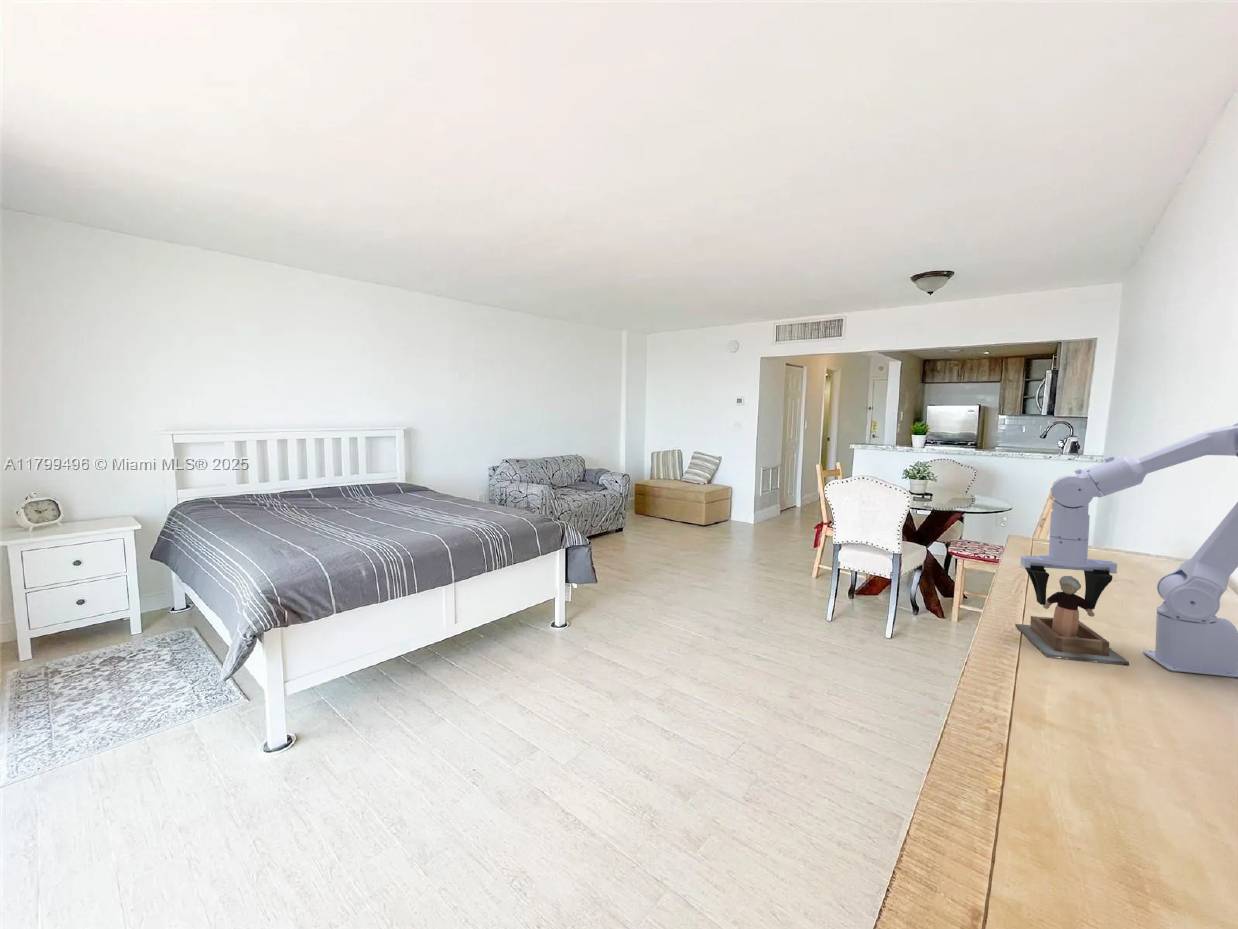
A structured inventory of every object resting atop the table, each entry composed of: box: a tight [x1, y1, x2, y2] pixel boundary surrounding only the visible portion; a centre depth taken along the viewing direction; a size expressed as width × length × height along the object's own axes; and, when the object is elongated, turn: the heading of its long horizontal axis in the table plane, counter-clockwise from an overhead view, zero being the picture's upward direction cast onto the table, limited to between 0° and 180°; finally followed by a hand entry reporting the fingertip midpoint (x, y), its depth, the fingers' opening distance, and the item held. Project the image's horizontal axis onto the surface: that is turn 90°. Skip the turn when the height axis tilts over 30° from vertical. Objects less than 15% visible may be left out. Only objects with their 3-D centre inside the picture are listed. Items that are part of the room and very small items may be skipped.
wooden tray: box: [1014, 615, 1130, 666], centre depth 103 cm, size 12×16×3 cm
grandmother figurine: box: [1042, 575, 1095, 638], centre depth 103 cm, size 8×4×13 cm, turn 55°
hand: (1064, 605), depth 103 cm, fingers open, 7 cm apart
